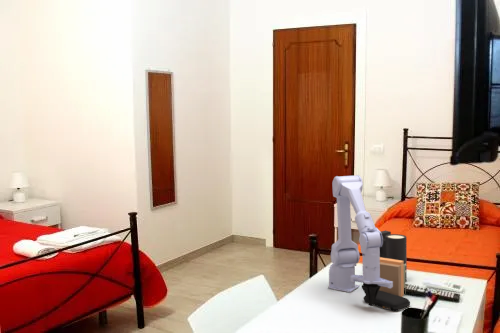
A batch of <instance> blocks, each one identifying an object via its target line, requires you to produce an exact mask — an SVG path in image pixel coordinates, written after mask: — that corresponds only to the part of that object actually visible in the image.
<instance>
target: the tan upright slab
mask: <svg viewBox="0 0 500 333" xmlns="http://www.w3.org/2000/svg"><path fill="white" fill-rule="evenodd" d="M380 278H382V279H385V280H389V281H393V287H392V288H391V289H390V288H388V287H383V286H381V287H380V289H379V290H380V291H384V292H387V293H391V294H394V295H397V296H401V297H404V295H405V294H404V288H405V289H406V282H405V264H404V261H402V260H395V259H388V258H381V257H380Z"/></svg>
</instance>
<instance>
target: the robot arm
mask: <svg viewBox="0 0 500 333" xmlns="http://www.w3.org/2000/svg"><path fill="white" fill-rule="evenodd" d="M331 184H332V197H334V198H336V209H337V210H336V211H337V215H336V216H337V233H338V235H337V236H338V239H337V241H335V242H334V243H332V245H331V252H330V260H331V265H330V266H329V269H328V289H330V290H331V289H332V290H337V291H341V292H346V293H352V292H353V291H355V290H356V289H358V288H359V287H360V285H359V284H356V282H357V283H361V290H362V291H363V292H364V296H365V295H366V297H367V301H368V303H367V304H368V306H369V307H373V306H375V305H374V304H375V299H376V296H377V293H378V291H379V289H380V287H381V286H383V287H388V288H390V289H391V288H392V287H393V281H389V280H385V279H382V278H380V248H379V247H382V245H383V237H382V233H381V232H380V230H379V229H378V227H376V226H375V223H374V220H373V218H372V215H371V213H370V212H369V211H367V210H366V206H365V203H364V199H363V195H362V192H363V189H364V188H363V187H364V182H363V178H362V176H360V175H359V174H356V175H343V176H338V175H336V176H334V178H333V180H332V183H331ZM351 206H352V208H353V211H354V213H355V216H354V221H355V223H356V227H357V230H358V233H359V238H358V242H359V245H360V251H359V245H358V244H357V243H356V242H355V241H353V240H352V217H351V215H352V213H351ZM360 252H361V254H362V275H361V274H356V272H355V271H356V268H355V267H357V264H359V262H360V258H361V256H360V255H361V254H360Z"/></svg>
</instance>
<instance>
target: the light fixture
mask: <svg viewBox="0 0 500 333" xmlns="http://www.w3.org/2000/svg"><path fill="white" fill-rule="evenodd" d="M379 231H380V230H379ZM380 232H381V233H382V237H383V245H382V247H379V248H380V257H381V258H388V259H395V260H402V261H404V264H405V283H406V282H407V280H408V278H407V275H408V274H407V272H408V271H407V270H408V269H407V268H408V267H407V262H408V261H407V255H408V253H407V238H408V237H407V236H406V235H404V234H399V233H392V232H391V231H390V230H387V229H385V230H381V231H380Z"/></svg>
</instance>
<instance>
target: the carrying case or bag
mask: <svg viewBox="0 0 500 333" xmlns="http://www.w3.org/2000/svg"><path fill="white" fill-rule="evenodd" d="M363 301H364V302H365V303H366V304H368V301H367V297H366V295H365V294H364V296H363ZM410 305H411V301H410V300H409V299H408V298H406V297H404V296H402V297H401V296H397V295H394V294H391V293H387V292H384V291H380V290H379V291H378V293H377V296H376V299H375V304H374V305H373V306H376V307H378V308H381V309H385V310H388V311H391V312H398V311H401V310H403V309H405V308H409V306H410Z"/></svg>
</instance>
